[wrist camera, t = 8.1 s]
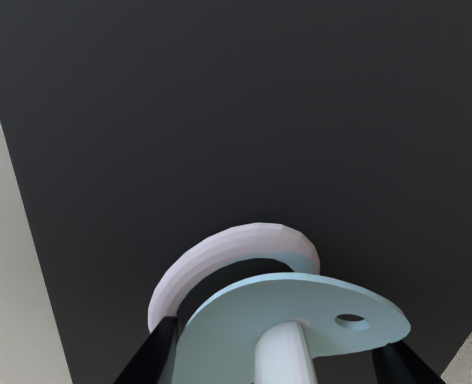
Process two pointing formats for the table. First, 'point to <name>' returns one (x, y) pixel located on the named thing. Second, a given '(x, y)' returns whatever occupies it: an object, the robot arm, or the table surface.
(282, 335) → the pacifier
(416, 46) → the mat
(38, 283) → the table surface
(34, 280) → the table surface
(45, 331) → the table surface
